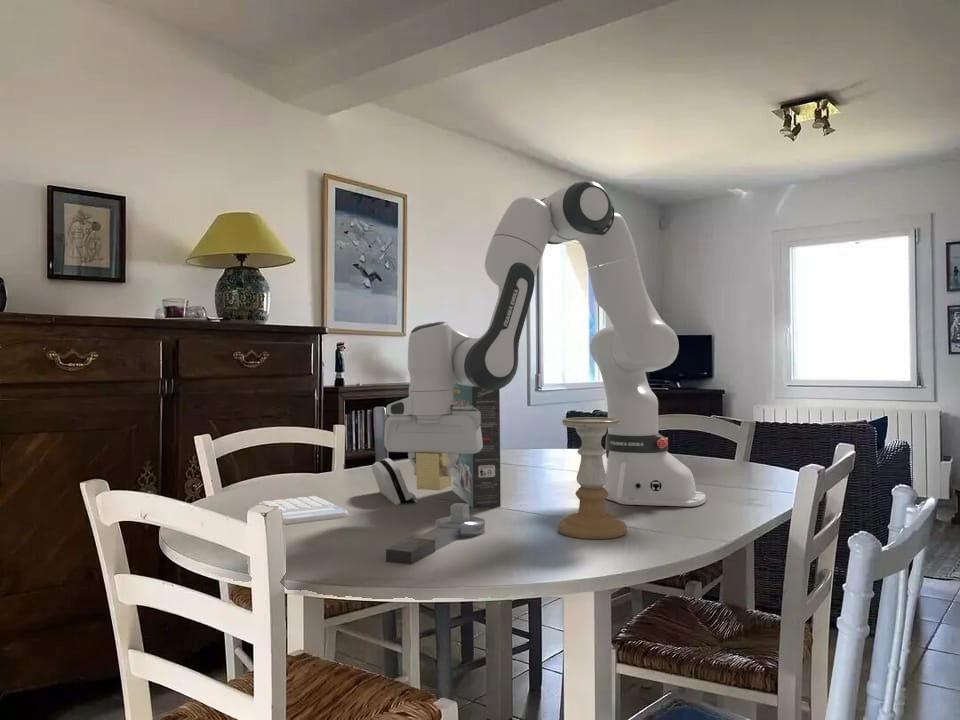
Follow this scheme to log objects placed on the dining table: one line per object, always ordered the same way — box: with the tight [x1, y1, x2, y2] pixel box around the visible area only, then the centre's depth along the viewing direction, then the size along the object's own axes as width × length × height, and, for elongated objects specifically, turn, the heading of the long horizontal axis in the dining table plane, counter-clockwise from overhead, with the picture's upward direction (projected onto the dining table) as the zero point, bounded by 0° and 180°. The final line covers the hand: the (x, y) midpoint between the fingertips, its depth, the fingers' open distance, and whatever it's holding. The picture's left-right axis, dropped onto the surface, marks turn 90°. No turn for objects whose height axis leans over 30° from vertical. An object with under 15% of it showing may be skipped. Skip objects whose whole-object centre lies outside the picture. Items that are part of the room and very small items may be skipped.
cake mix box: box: [451, 383, 502, 509], centre depth 165 cm, size 22×6×30 cm, turn 14°
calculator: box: [257, 495, 349, 525], centre depth 151 cm, size 13×20×2 cm, turn 31°
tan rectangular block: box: [415, 452, 452, 491], centre depth 144 cm, size 5×5×7 cm
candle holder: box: [557, 416, 628, 540], centre depth 132 cm, size 12×12×20 cm
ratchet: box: [385, 502, 486, 565], centre depth 124 cm, size 26×9×5 cm, turn 156°
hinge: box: [371, 457, 419, 505], centre depth 166 cm, size 17×5×10 cm, turn 19°
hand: (433, 475), depth 144 cm, fingers closed on tan rectangular block, 5 cm apart
